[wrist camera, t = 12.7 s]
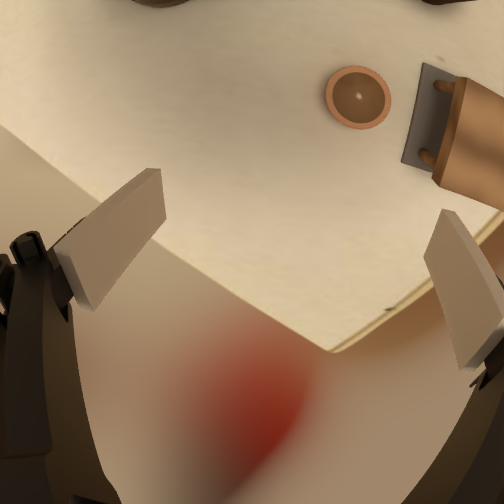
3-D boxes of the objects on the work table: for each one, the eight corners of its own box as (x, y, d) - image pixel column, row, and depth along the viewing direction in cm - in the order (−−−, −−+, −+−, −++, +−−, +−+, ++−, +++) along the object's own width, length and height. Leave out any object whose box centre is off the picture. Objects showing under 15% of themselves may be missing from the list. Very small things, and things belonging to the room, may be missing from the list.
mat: (422, 62, 25) (424, 62, 24) (504, 103, 23) (506, 103, 23) (400, 161, 33) (402, 162, 33) (480, 189, 32) (481, 191, 31)
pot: (328, 61, 28) (330, 59, 24) (386, 75, 27) (396, 76, 23) (320, 115, 32) (321, 121, 29) (376, 128, 32) (384, 136, 28)
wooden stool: (433, 74, 25) (467, 77, 17) (498, 105, 24) (538, 121, 16) (413, 159, 32) (439, 187, 24) (476, 182, 31) (508, 213, 23)
